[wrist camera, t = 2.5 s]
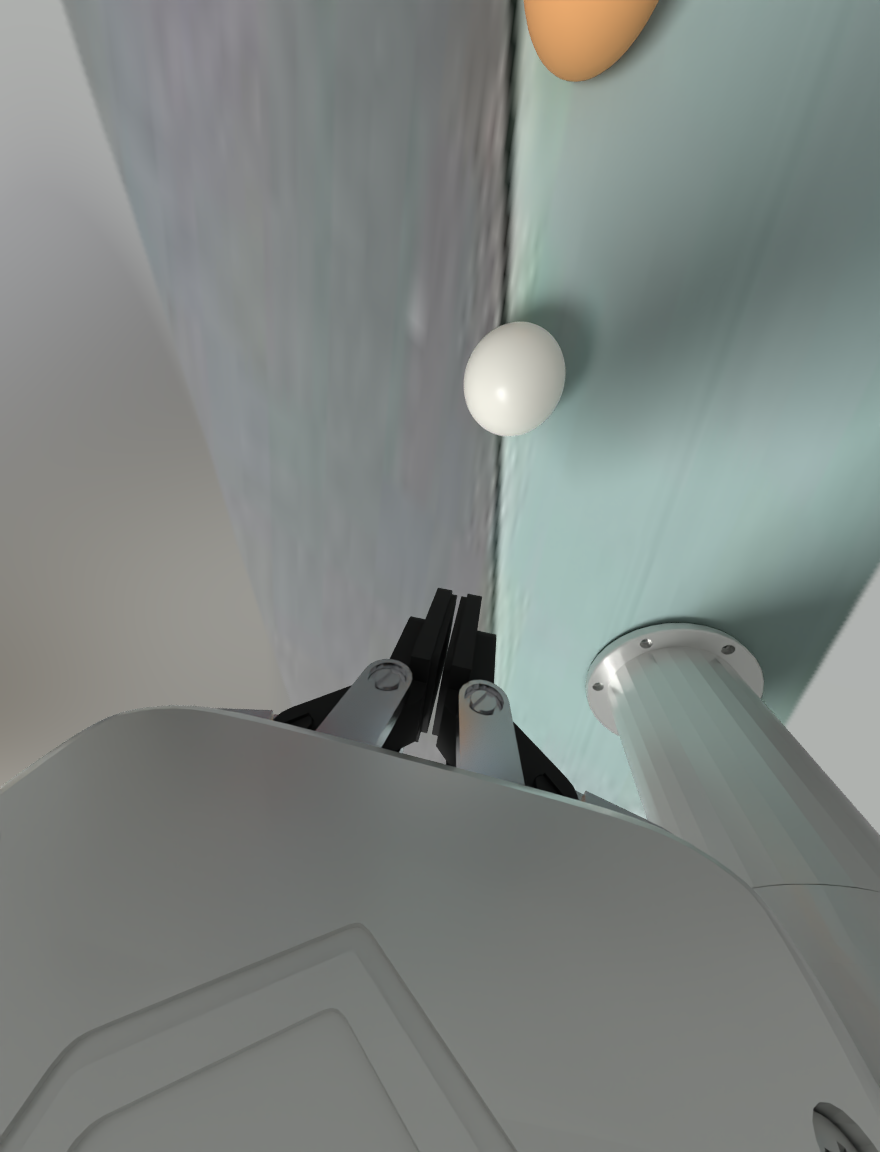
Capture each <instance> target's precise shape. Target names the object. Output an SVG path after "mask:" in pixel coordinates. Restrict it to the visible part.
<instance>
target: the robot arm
mask: <svg viewBox="0 0 880 1152" xmlns="http://www.w3.org/2000/svg"><path fill="white" fill-rule="evenodd" d="M456 599H457V595H453V594H452V590H447V589H442V588H438V589H437V592H436V594H435V597H434V599H433V602H432V604H431V607H430V609H429V612H428V614H427V617H426V619H421V618H416V617H410V618H409V620H408V622H407V624H406V626H405V628H404V630H403V632H402V635H401V637H400V639H399V641H398V643H397V645H396V647H395V649H394V651H393V653H392V655H391V657H390V659H382V660H378V661H375V662H373V663H371V664H370V665H369V666H368V667H367V668H366V669H365V670H364V671H363V672H362V674H361V675H360V676H359V677H358V679H357V680H356V681H355V682H354V684H353V685H352V686H349V687H346V688H344V689H341V690H338V691H335V692H333V693H330V694H327V695H324V696H322V697H319V698H316V699H313V700H311V701H308V702H305V703H302V704H300V705H297V706H294V707H291V708H289V709H287V710H285V711H283V712H282V713H280V714H279V715H274V714H273V711H272V710H249V709H220V708H209V707H200V706H178V705H177V706H175V705H169V706H157V707H146V708H140V709H135V710H130V711H126V712H122V713H119V714H116V715H113V716H110V717H107V718H105V719H103V720H101V721H99V722H97V723H95V724H93V725H92V726H90V727H88V728H86V729H84V730H83V731H81V732H80V733H78V734H76V735H74V736H73V737H71V738H70V739H68V740H67V741H65V742H64V743H62V744H61V745H59V746H58V747H56V748H55V749H53V750H52V751H50V752H49V753H47V754H46V755H44V756H43V757H42V758H40V759H39V760H37V761H36V762H35V763H33V764H31V765H30V766H29V767H27V768H26V769H24V770H23V771H22V772H20V773H19V774H17V775H16V776H15V777H13V778H12V779H10V780H9V781H8V782H6V783H5V784H4V785H2V786H1V787H0V1152H880V835H879V834H878V833H877V831H876V830H875V829H874V828H873V827H872V826H871V825H870V823H869V822H868V821H867V820H866V819H865V818H864V817H863V815H862V814H861V813H860V812H859V811H858V810H857V809H856V807H855V806H854V805H853V804H852V803H851V802H850V801H849V799H848V798H847V797H846V796H845V795H844V794H843V793H842V791H841V790H840V789H839V788H838V787H837V786H836V785H835V784H834V782H833V781H832V780H831V779H830V778H829V777H828V775H827V774H826V773H825V772H824V771H823V770H822V769H821V767H820V766H819V765H818V764H817V763H816V762H815V761H814V760H813V758H812V757H811V756H810V755H809V754H808V753H807V751H806V750H805V749H804V748H803V747H802V746H801V745H800V743H799V742H798V741H797V740H796V739H795V738H794V737H793V736H792V734H791V733H790V732H789V731H788V730H787V729H786V727H785V726H784V725H783V724H782V723H781V722H780V721H779V719H778V718H777V717H776V716H775V715H774V714H773V713H772V711H771V710H770V709H769V708H768V707H767V706H766V705H765V703H764V702H763V701H762V700H761V696H762V694H763V687H764V678H763V673H762V669H761V667H760V665H759V663H758V661H757V660H756V658H755V657H754V656H753V655H752V654H751V653H750V652H749V650H748V649H747V648H746V647H745V646H744V645H742V644H741V643H740V642H739V641H737V640H736V639H735V638H734V637H732V636H730V635H728V634H726V633H724V632H722V631H720V630H717V629H714V628H711V627H708V626H704V625H697V624H690V623H666V624H660V625H653V626H649V627H645V628H642V629H638V630H635V631H633V632H631V633H628V634H626V635H624V636H622V637H620V638H618V639H617V640H615V641H614V642H612V643H611V644H609V645H608V646H607V647H606V648H605V649H604V650H603V651H602V652H600V653H599V654H598V655H597V657H596V658H595V660H594V661H593V663H592V664H591V666H590V668H589V671H588V673H587V676H586V684H585V688H586V695H587V699H588V702H589V706H590V709H591V710H592V712H593V714H594V716H595V717H596V718H597V720H598V721H599V722H600V723H601V724H602V725H603V726H604V727H606V728H607V729H608V730H610V731H611V732H612V733H614V734H616V735H618V736H620V739H621V742H622V745H623V748H624V751H625V754H626V757H627V760H628V763H629V766H630V769H631V772H632V775H633V778H634V781H635V784H636V787H637V790H638V793H639V796H640V799H641V802H642V805H643V808H644V811H645V814H646V817H647V820H646V819H644V818H642V817H640V816H638V815H636V814H633V813H631V812H629V811H627V810H625V809H623V808H621V807H619V806H617V805H615V804H613V803H610V802H608V801H606V800H604V799H602V798H600V797H598V796H596V795H594V794H592V793H589V792H587V791H585V793H584V795H583V794H581V793H579V792H577V791H575V789H574V787H573V785H572V784H571V783H570V782H569V780H568V779H567V778H566V777H565V776H564V775H563V774H562V772H561V771H560V770H559V769H558V768H557V767H556V766H555V765H554V764H553V763H552V762H551V761H550V760H549V759H548V758H547V757H546V756H545V755H544V754H543V752H542V751H541V750H540V749H539V748H538V747H537V746H536V745H535V744H534V743H533V742H532V741H531V740H530V739H529V738H528V737H527V736H526V735H525V734H524V732H523V731H522V730H521V729H520V728H519V727H518V726H517V725H516V724H515V723H514V722H513V720H512V714H511V709H510V704H509V700H508V697H507V695H506V694H505V693H504V691H503V690H502V689H501V688H500V687H498V686H497V685H495V684H494V670H495V652H496V635H495V634H490V633H486V632H481V631H477V628H478V621H479V614H480V607H481V600H482V597H481V596H476V595H471V594H468V595H467V597H462V596H461V600H460V604H459V608H458V612H457V616H456V620H455V624H454V628H453V632H452V635H451V639H450V633H451V627H452V622H453V616H454V610H455V605H456ZM449 639H450V643H449ZM448 644H449V647H448ZM447 650H448V651H447ZM443 668H444V669H443ZM442 672H443V674H442ZM441 675H442V680H441V686H440V691H439V697H438V703H437V708H436V714H435V720H434V726H433V731H432V734H433V735H437V736H438V739H437V744H436V747H437V748H438V749H439V751H440V752H441V754H442V755H443V757H444V758H445V762H444V764H441V763H437V762H434V761H430V760H426V759H422V758H418V757H414V756H411V755H407V754H403V751H404V747H405V746H407V745H409V744H411V743H413V742H414V741H415V742H418V740H419V736H420V733H421V732H425V733H427V731H428V727H429V723H430V719H431V715H432V711H433V707H434V703H435V699H436V695H437V691H438V687H439V683H440V679H441Z"/></svg>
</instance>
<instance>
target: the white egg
mask: <svg viewBox="0 0 880 1152" xmlns="http://www.w3.org/2000/svg"><path fill="white" fill-rule="evenodd" d="M565 374H566V370H565V362H564V357H563V354H562V351H561V349H560V347H559V345H558V343H557V341H556V340H555V339H554V337H553V336H552V335H551V334H550V333H549V332H548V331H546V330H545V329H544V328H542V327H540V326H538V325H536V324H533V323H530V322H511V323H507V324H504V325H501V326H499V327H497V328H495V329H494V330H492V331H491V332H489V333H488V334H487V335H486V336H485V337H484V338H483V339H482V340H481V341H480V342H479V343H478V345H477V346H476V347H475V349H474V350H473V352H472V354H471V356H470V358H469V361H468V363H467V367H466V370H465V376H464V395H465V400H466V403H467V406H468V409H469V411H470V413H471V414H472V416H473V418H474V419H475V420H476V421H477V423H478V424H479V425H481V426H482V427H483V428H484V429H486V430H487V431H489V432H491V433H493V434H496V435H500V436H510V437H511V436H518V435H522V434H525V433H528V432H530V431H532V430H534V429H536V428H537V427H538V426H540V425H541V424H542V423H543V422H544V421H546V420H547V418H548V417H549V416H550V415H551V414H552V412H553V411H554V410H555V408H556V406H557V404H558V403H559V400H560V398H561V395H562V392H563V389H564V384H565Z"/></svg>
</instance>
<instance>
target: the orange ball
mask: <svg viewBox="0 0 880 1152" xmlns="http://www.w3.org/2000/svg"><path fill="white" fill-rule="evenodd" d="M658 1H659V0H524V6H525V14H526V19H527V25H528V30H529V33H530V37H531V40H532V43H533V45H534V48H535V50H536V52H537V55H538V56H539V58H540V60H541V61H542V63H543V64H544V65H545V66H546V68H547V69H548V70H549V71H550V72H552V73H553V74H554V75H555V76H557V77H559V78H561V79H563V80H566V81H573V82H578V81H584V80H588V79H591V78H593V77H595V76H597V75H599V74H601V73H602V72H604V71H605V70H606V69H608V68H609V67H611V66H612V65H613V64H614V63H615V62H616V61H618V60H619V59H620V57H621V56H622V55H623V54H624V53H625V52H626V51H627V50H628V48H629V47H630V46H631V45H632V43H633V42H634V41H635V39H636V38H637V37H638V36H639V34H640V32H641V31H642V29H643V28H644V26H645V25H646V23H647V21H648V20H649V18H650V16H651V14H652V12H653V10H654V9H655V7H656V5H657V3H658Z"/></svg>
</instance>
